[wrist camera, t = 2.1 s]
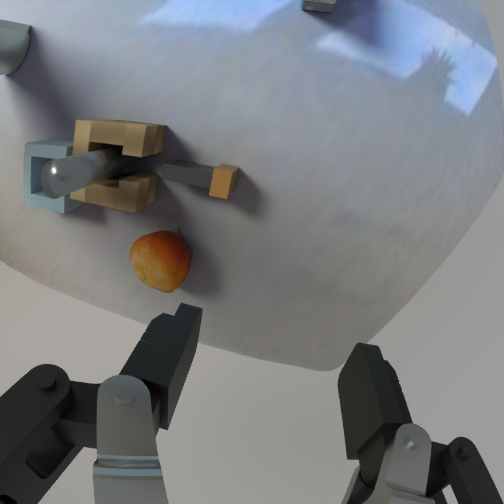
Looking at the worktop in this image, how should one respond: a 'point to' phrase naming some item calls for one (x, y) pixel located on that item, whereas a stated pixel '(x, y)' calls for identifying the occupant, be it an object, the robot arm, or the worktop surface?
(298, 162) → the worktop surface
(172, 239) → the fruit
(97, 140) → the socket block
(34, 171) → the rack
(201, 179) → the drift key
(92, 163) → the peg
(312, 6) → the blue retail carton
